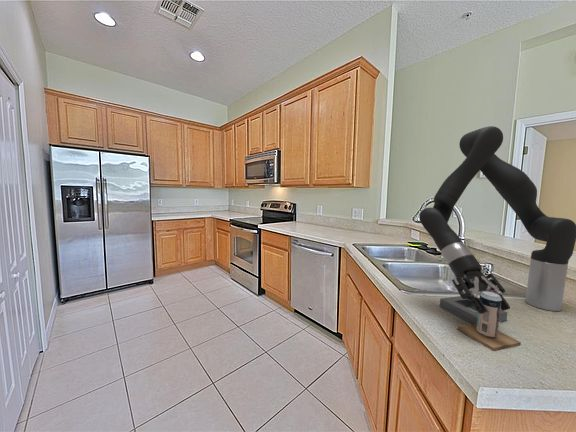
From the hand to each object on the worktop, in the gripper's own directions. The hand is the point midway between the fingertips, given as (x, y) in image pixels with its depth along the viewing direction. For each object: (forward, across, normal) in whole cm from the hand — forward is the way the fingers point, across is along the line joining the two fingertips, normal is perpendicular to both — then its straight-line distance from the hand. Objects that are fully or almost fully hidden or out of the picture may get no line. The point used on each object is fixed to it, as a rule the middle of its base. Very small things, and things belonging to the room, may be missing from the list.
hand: (495, 311), depth 66 cm
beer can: (+4, 0, +7) cm, 8 cm away
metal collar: (-3, +9, +15) cm, 18 cm away
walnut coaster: (+5, 0, +7) cm, 9 cm away
